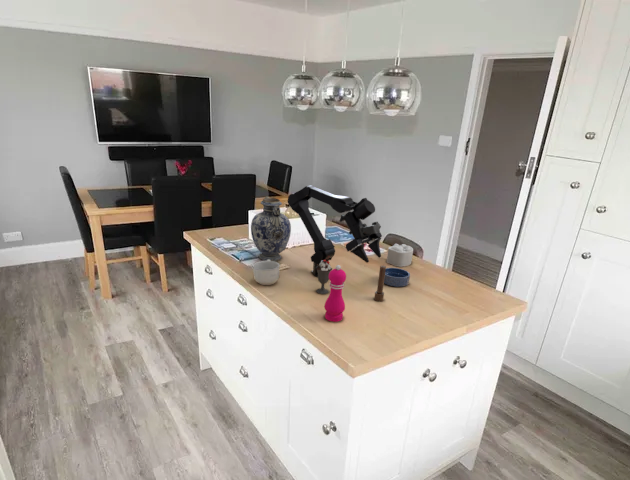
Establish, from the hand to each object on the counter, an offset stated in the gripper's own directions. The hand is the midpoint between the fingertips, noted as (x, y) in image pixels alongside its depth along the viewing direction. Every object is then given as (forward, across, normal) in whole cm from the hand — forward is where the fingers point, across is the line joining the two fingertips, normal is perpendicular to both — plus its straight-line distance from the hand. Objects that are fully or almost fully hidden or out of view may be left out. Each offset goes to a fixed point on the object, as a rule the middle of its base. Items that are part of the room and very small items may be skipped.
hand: (374, 259), depth 167 cm
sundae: (+1, -15, +20) cm, 25 cm away
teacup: (-14, -24, +36) cm, 46 cm away
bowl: (+12, +17, +8) cm, 22 cm away
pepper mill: (+13, -30, +7) cm, 34 cm away
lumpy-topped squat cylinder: (+4, +43, +16) cm, 46 cm away
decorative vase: (-27, -1, +51) cm, 58 cm away
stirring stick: (+15, -4, +4) cm, 16 cm away
